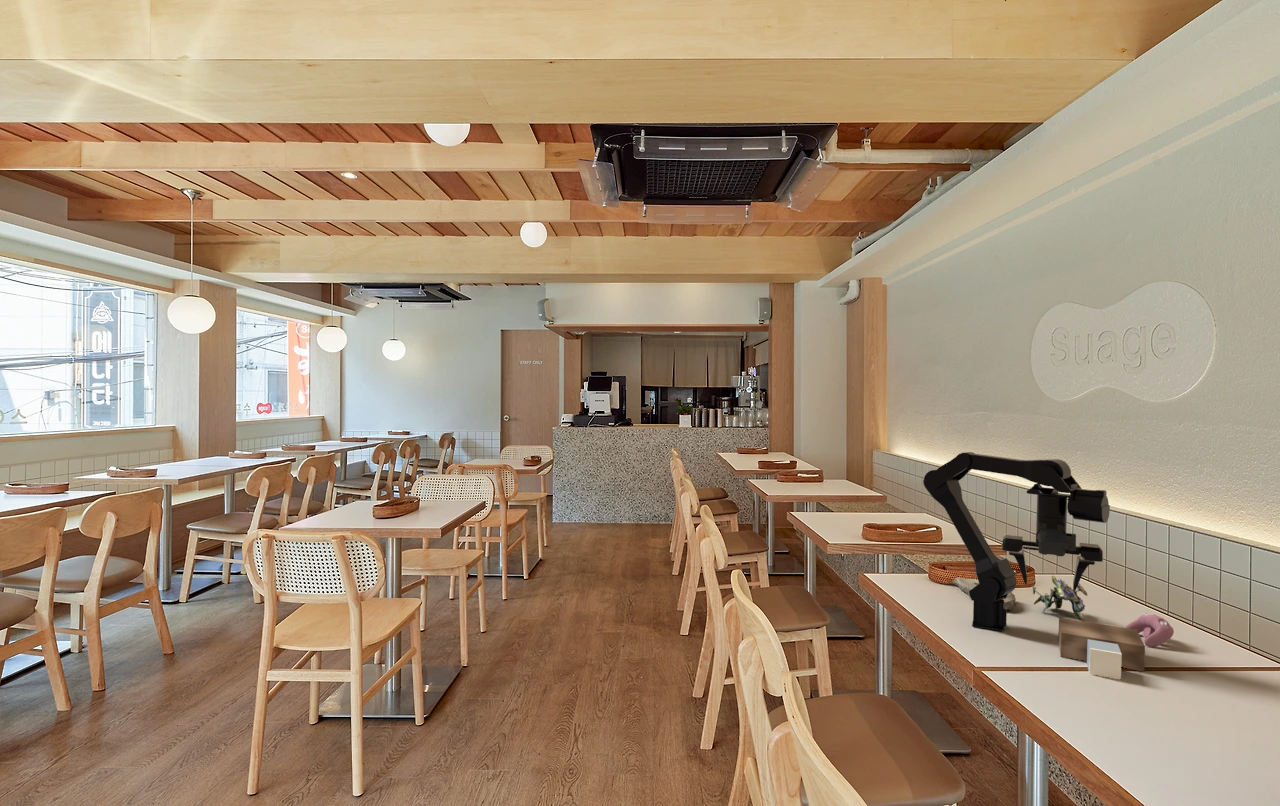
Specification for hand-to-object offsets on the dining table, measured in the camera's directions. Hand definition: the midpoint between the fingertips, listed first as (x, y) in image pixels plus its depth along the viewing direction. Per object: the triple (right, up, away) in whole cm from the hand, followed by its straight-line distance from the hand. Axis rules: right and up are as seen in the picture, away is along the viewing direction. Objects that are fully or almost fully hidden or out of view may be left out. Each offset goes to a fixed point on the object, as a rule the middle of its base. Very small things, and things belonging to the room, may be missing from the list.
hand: (1049, 586), depth 150 cm
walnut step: (+6, -12, -8) cm, 16 cm away
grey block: (+2, -10, -14) cm, 17 cm away
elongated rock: (+3, -13, +38) cm, 40 cm away
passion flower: (+14, -13, +19) cm, 27 cm away
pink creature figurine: (+23, -13, +2) cm, 27 cm away
